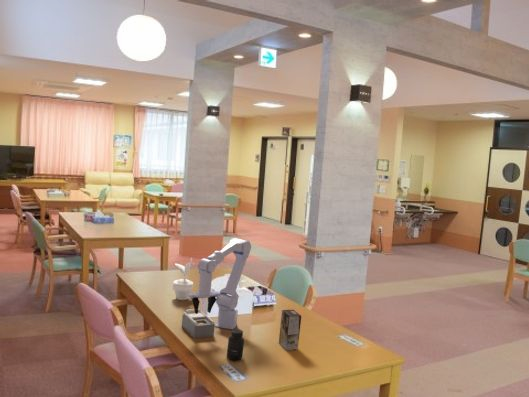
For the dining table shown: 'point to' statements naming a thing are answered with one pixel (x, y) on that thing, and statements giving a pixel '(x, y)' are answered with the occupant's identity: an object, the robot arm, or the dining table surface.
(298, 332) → the coffee box
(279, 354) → the dining table surface
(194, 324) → the housing
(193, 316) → the lid
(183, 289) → the potted plant
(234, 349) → the supplement bottle
